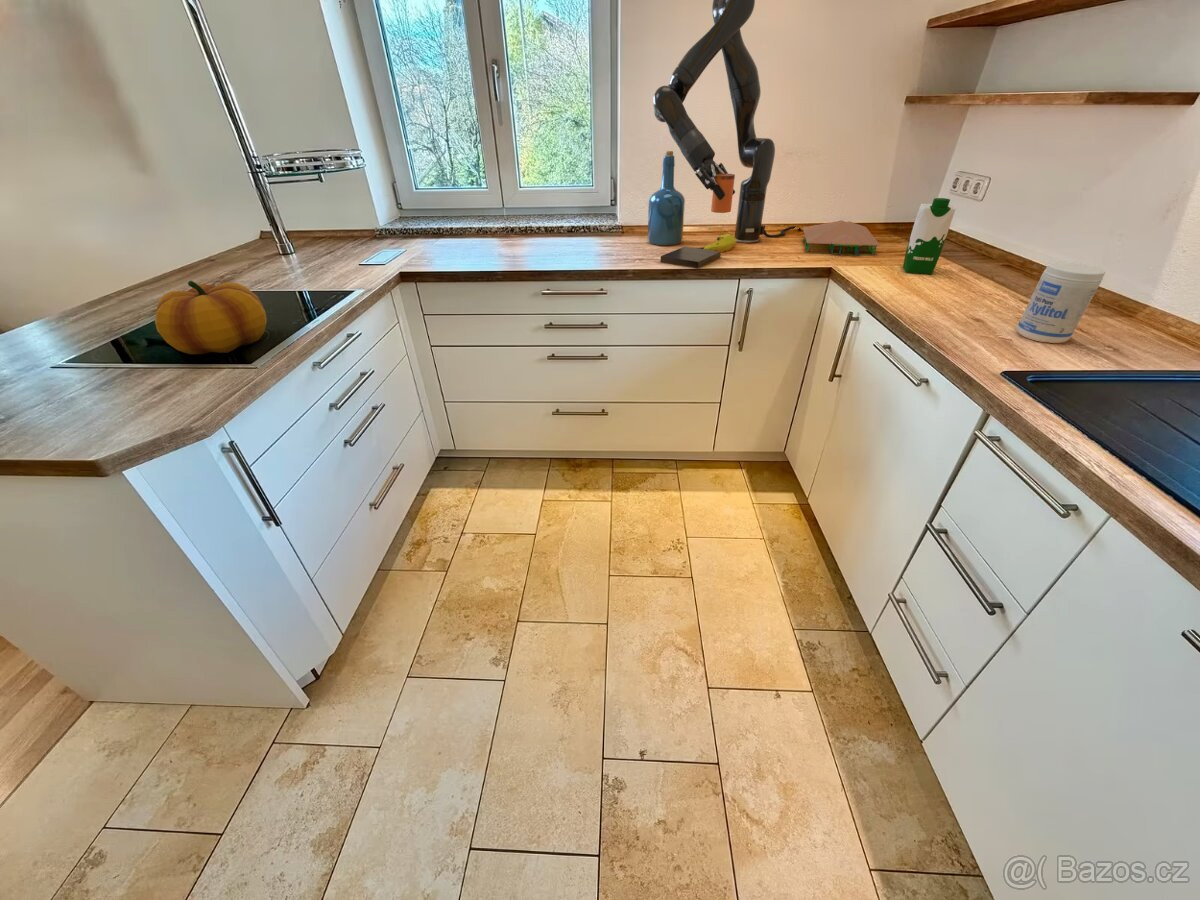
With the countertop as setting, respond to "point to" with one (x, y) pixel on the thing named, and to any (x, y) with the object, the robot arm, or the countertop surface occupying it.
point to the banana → (722, 243)
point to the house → (840, 236)
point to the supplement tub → (1059, 301)
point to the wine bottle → (666, 208)
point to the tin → (727, 186)
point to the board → (690, 257)
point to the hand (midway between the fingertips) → (727, 196)
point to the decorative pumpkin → (210, 318)
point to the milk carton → (928, 236)
